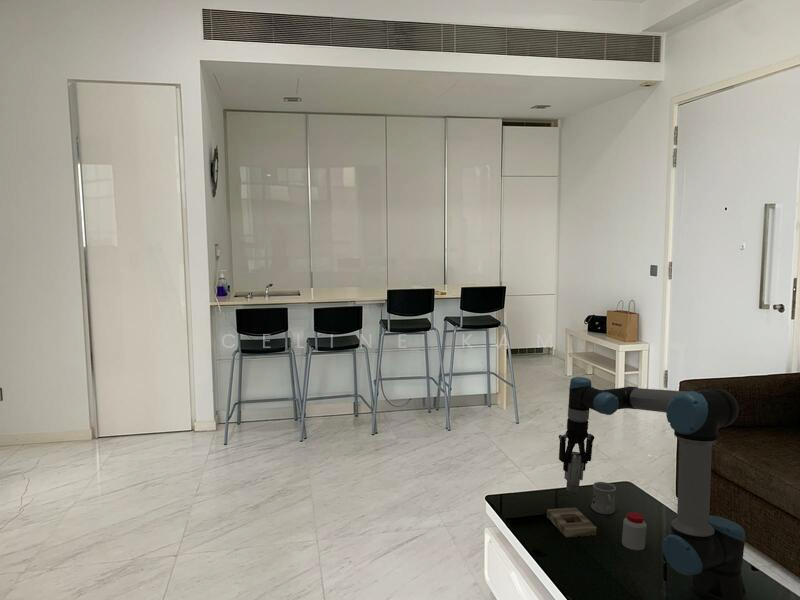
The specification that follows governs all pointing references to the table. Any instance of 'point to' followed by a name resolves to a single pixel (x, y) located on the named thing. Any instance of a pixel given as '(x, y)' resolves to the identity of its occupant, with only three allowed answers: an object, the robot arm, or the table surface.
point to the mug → (603, 498)
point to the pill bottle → (634, 531)
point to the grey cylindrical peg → (574, 472)
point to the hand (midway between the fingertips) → (573, 478)
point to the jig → (571, 529)
